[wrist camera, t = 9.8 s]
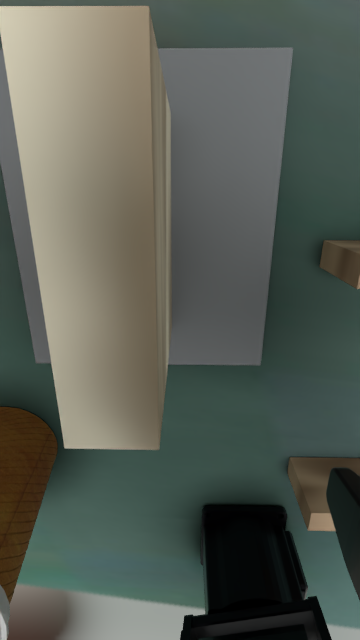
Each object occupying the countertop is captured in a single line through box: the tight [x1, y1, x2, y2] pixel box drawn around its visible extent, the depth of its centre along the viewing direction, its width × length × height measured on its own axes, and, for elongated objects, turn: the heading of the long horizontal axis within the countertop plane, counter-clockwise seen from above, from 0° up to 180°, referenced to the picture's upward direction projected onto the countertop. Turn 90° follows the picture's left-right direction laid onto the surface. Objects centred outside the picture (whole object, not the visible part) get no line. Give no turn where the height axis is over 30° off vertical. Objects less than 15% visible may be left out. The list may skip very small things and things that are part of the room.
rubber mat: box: [0, 48, 293, 365], centre depth 18 cm, size 14×16×1 cm
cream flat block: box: [0, 6, 172, 450], centre depth 13 cm, size 3×11×10 cm, turn 0°
